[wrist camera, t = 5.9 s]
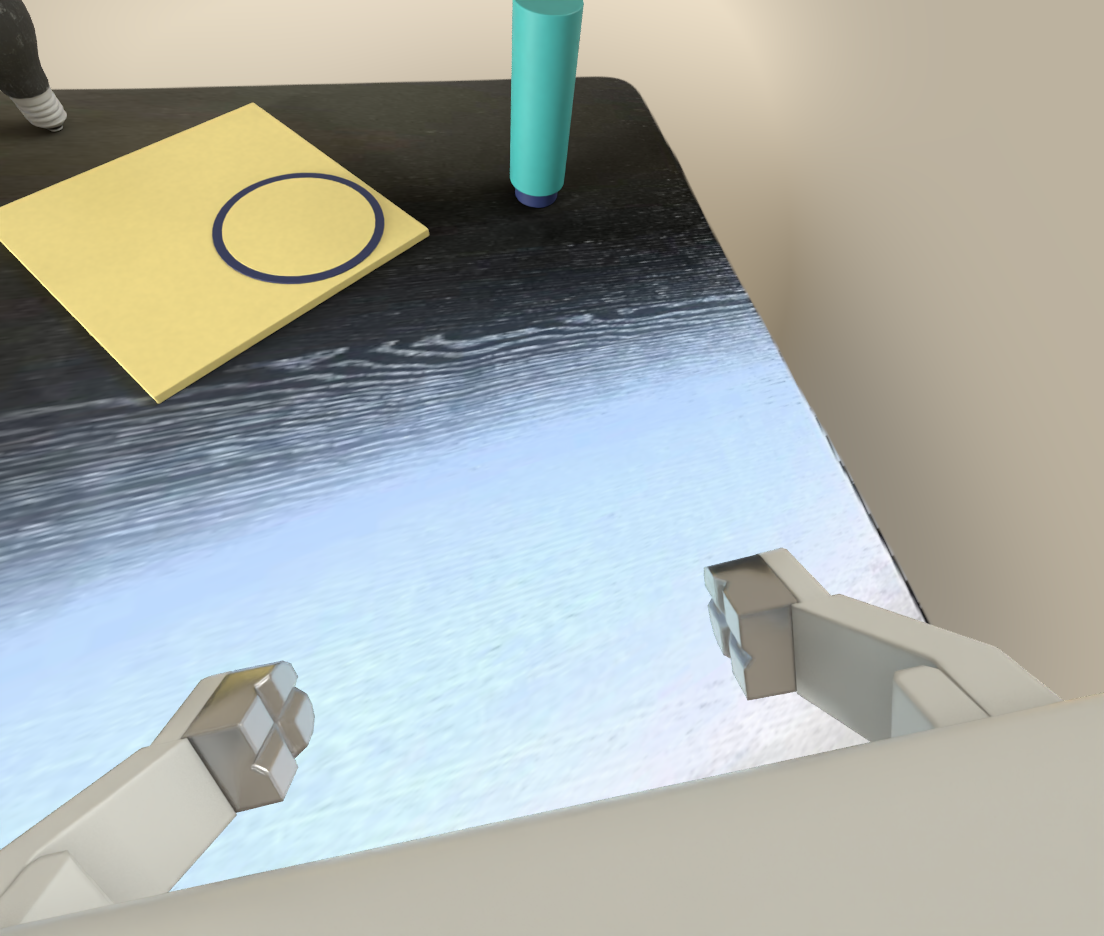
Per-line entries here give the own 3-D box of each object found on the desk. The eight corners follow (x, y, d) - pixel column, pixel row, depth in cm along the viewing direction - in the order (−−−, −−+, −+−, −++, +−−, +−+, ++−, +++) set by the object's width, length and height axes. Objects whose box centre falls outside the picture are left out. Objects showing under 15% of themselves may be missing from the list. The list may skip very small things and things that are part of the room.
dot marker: (498, 192, 40) (497, -7, 29) (534, 170, 42) (545, -26, 31) (538, 219, 39) (551, 22, 28) (572, 195, 41) (597, 1, 30)
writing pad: (-16, 224, 34) (-26, 214, 34) (256, 110, 42) (252, 100, 42) (159, 404, 29) (151, 396, 29) (429, 235, 37) (428, 227, 37)
